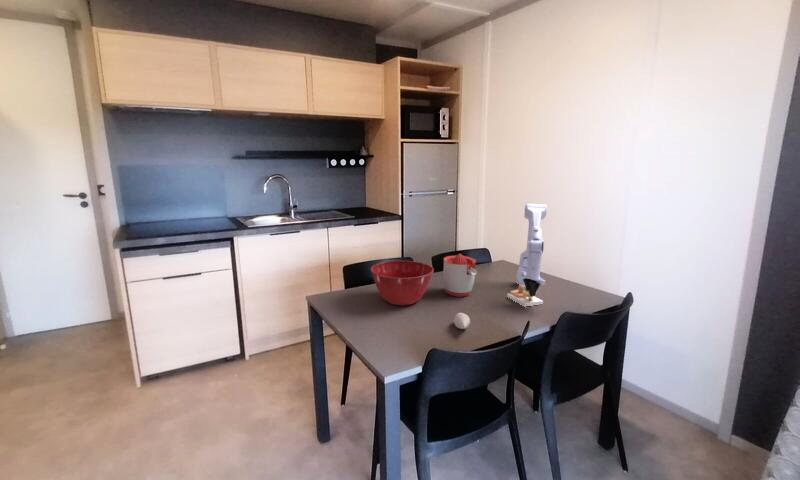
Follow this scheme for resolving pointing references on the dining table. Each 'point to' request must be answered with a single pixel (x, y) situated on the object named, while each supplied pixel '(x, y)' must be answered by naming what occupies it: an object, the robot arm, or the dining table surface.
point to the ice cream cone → (461, 321)
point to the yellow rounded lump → (528, 295)
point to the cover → (519, 292)
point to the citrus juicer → (459, 275)
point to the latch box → (525, 300)
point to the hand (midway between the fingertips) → (530, 295)
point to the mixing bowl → (402, 280)
